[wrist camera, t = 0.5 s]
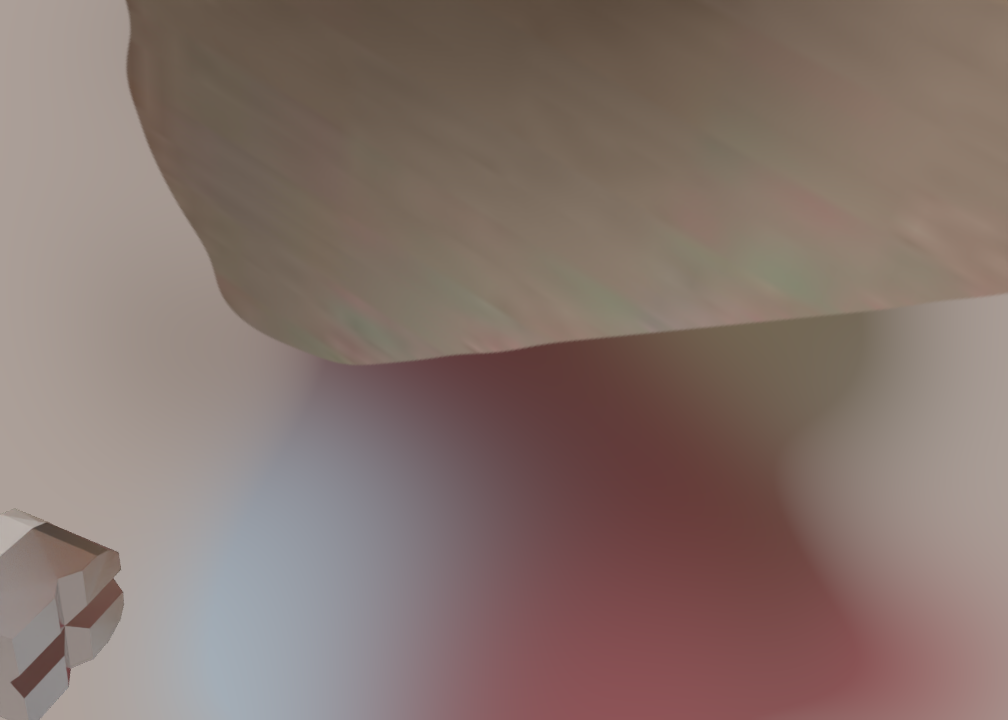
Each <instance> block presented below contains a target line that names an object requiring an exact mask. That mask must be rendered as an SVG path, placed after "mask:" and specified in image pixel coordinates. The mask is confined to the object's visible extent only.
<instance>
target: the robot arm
mask: <svg viewBox="0 0 1008 720" xmlns="http://www.w3.org/2000/svg"><path fill="white" fill-rule="evenodd" d="M120 570H121V566H120V559H119V553H118V552H116V551H114V550H112V549H109V548H107V547H105V546H102V545H100V544H97V543H95V542H93V541H90V540H88V539H86V538H83V537H81V536H78V535H76V534H74V533H71V532H69V531H67V530H64V529H62V528H59V527H57V526H55V525H53V524H51V523H49V522H47V521H44V520H42V519H40V518H37V517H35V516H32V515H30V514H27V513H25V512H22V511H20V510H17V509H12V510H10V511H7V512H5V513H2V514H0V717H2V718H5V719H7V720H39V719H40V718H41V717H42V716H43V715H44V714H45V713H46V712H47V711H48V709H49V708H50V707H51V706H52V705H53V704H54V703H55V702H56V700H57V699H58V698H59V697H60V696H61V695H62V694H63V693H64V692H65V690H66V689H67V688H68V687H69V680H70V671H71V668H73V667H75V666H78V665H80V664H83V663H85V662H87V661H90V660H92V659H94V658H95V657H96V655H97V654H98V653H99V652H100V651H101V650H102V648H103V647H104V646H105V645H106V644H107V643H108V641H109V640H110V638H111V636H112V634H113V632H114V630H115V628H116V627H117V625H118V623H119V621H120V619H121V615H122V610H123V606H124V599H123V591H122V590H121V588H120V587H119V586H118V584H117V583H116V581H115V580H114V576H115V575H116V574H117V573H118V572H119V571H120Z"/></svg>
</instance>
